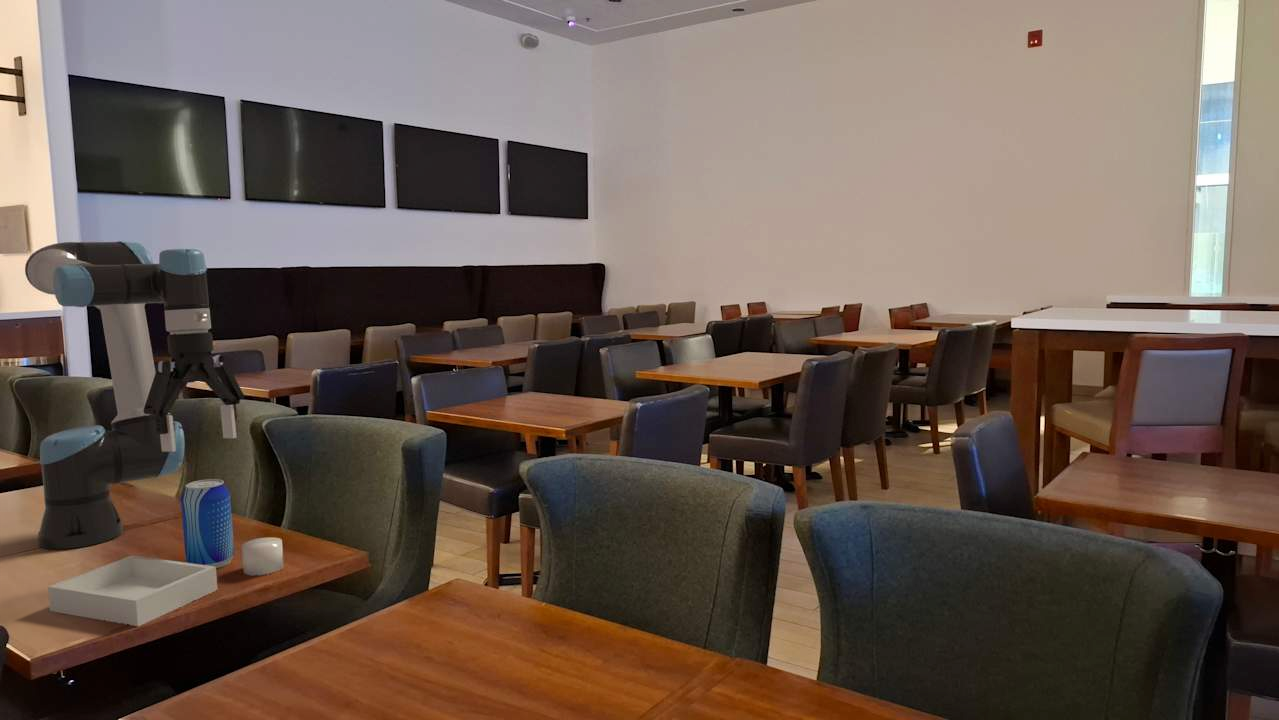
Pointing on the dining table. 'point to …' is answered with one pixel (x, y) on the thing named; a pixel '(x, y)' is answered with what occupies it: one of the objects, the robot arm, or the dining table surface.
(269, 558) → the white pillar candle
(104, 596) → the tray
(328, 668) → the dining table surface
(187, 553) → the beer can
